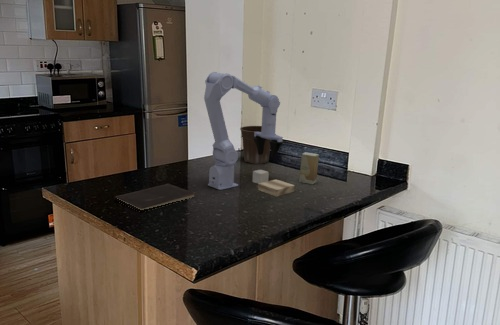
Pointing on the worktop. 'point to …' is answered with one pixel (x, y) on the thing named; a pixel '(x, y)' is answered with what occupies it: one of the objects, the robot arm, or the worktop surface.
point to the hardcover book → (155, 196)
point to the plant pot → (254, 146)
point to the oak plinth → (276, 187)
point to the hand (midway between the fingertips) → (267, 156)
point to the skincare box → (309, 168)
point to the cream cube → (260, 176)
